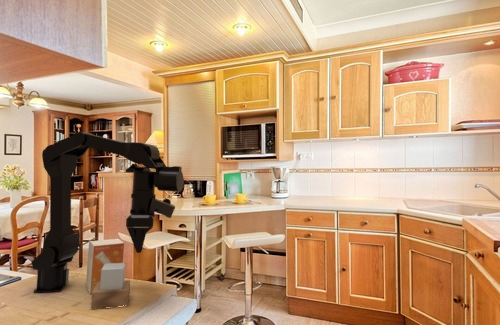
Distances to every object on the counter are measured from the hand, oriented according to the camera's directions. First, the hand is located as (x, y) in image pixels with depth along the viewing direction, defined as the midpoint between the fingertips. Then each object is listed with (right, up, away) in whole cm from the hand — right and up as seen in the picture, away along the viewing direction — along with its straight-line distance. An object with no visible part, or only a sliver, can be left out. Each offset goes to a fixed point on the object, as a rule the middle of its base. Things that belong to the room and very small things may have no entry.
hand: (140, 247), depth 79 cm
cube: (-6, -9, -4) cm, 11 cm away
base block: (-6, -13, -4) cm, 14 cm away
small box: (-12, -13, +4) cm, 18 cm away
